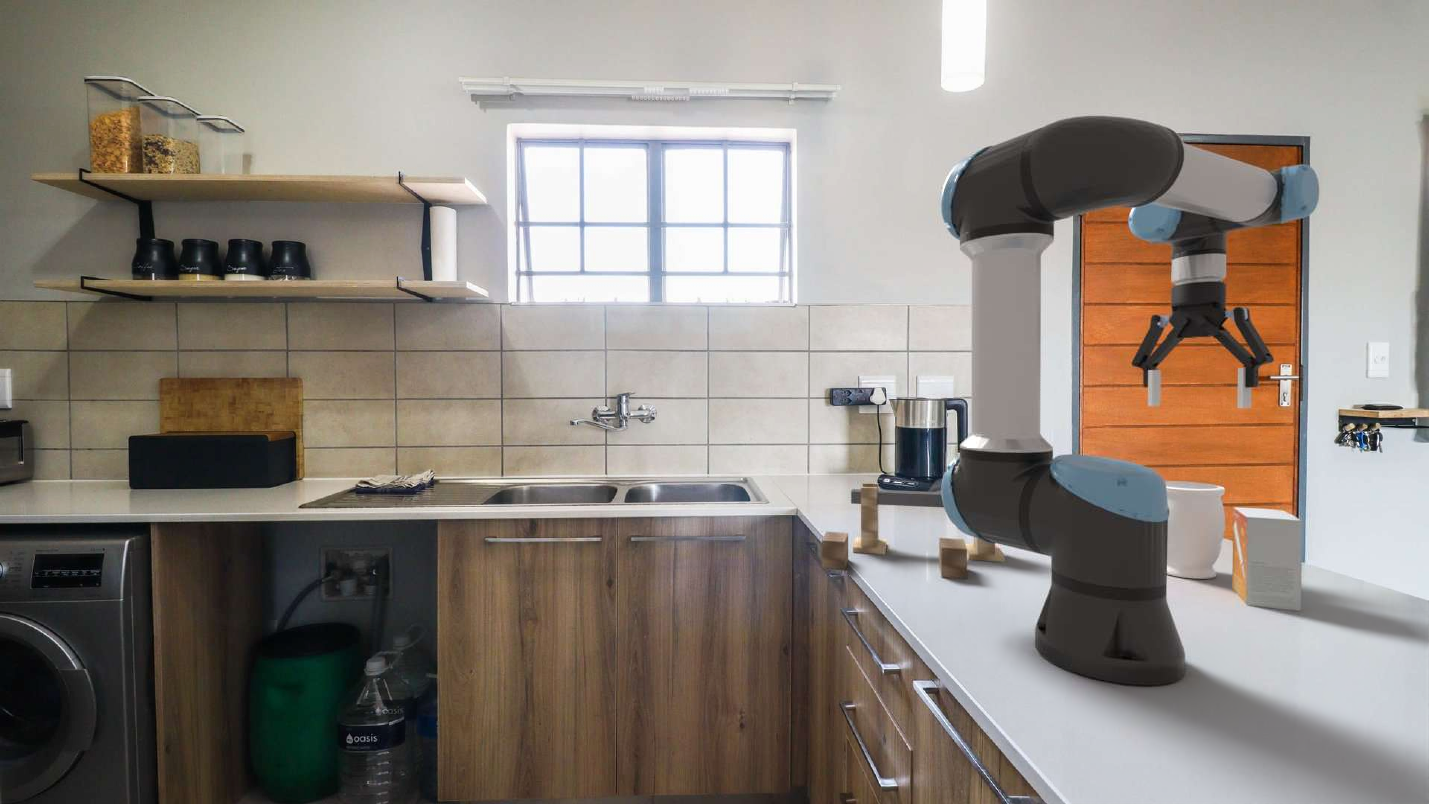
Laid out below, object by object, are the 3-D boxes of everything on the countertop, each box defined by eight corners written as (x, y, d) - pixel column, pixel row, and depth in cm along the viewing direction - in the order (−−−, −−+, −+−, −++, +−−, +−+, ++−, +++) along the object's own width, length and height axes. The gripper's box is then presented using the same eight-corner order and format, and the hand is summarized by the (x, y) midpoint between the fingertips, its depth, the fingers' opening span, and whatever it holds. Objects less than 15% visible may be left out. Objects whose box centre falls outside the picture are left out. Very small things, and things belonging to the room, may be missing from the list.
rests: (963, 567, 113) (963, 539, 113) (966, 578, 107) (966, 549, 107) (826, 558, 120) (826, 531, 120) (821, 568, 114) (821, 540, 113)
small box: (1231, 589, 100) (1232, 506, 100) (1283, 595, 97) (1285, 509, 97) (1245, 605, 93) (1246, 516, 93) (1302, 612, 90) (1303, 520, 90)
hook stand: (998, 550, 124) (998, 486, 124) (1004, 561, 117) (1004, 493, 116) (856, 542, 132) (855, 481, 132) (853, 552, 124) (852, 488, 124)
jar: (1151, 576, 107) (1151, 487, 106) (1143, 561, 116) (1144, 478, 116) (1231, 585, 102) (1232, 491, 102) (1216, 568, 111) (1217, 482, 111)
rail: (1003, 507, 121) (1003, 494, 121) (1005, 510, 119) (1005, 497, 119) (852, 500, 129) (852, 489, 129) (851, 503, 127) (851, 491, 127)
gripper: (1301, 273, 101) (1299, 408, 101) (1134, 293, 123) (1133, 404, 123) (1279, 269, 97) (1277, 409, 98) (1111, 291, 119) (1110, 405, 120)
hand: (1196, 407), depth 110 cm, fingers open, 13 cm apart
